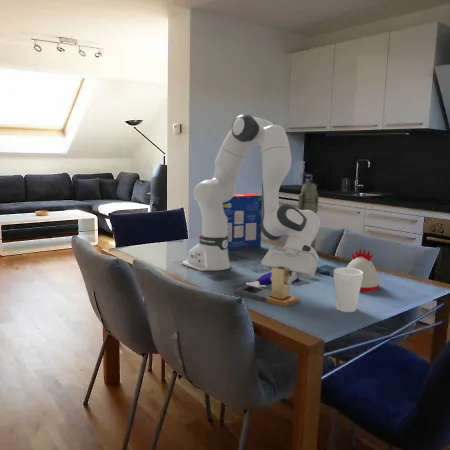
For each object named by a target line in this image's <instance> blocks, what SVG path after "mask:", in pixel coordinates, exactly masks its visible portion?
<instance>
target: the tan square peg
mask: <svg viewBox="0 0 450 450" xmlns="http://www.w3.org/2000/svg"><path fill="white" fill-rule="evenodd" d="M289 269H290V268H288V267H283V266H277V267H274V268H272V271H271V272H272V284H271V291H272V295H271V298H273V299H277V300H281V301H284V300H286V299H288V298H289V295H290V293H291V292H290V290H291V288H290V287H291V285H286V284H285V281H286V279H287V278H288V279H289V278H290V271H289Z"/></svg>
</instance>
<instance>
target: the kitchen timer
mask: <svg viewBox="0 0 450 450" xmlns="http://www.w3.org/2000/svg"><path fill="white" fill-rule="evenodd" d="M354 252H355V255H354V253H353V252H352V253H351V256H352V258H353V259H352V260H351V261H350V262H349V263H348V265H347V266H346V267H345V268H354V269H358V270H361V271H362V272H363V280H362V282H361V287H360V292H369V293H370V292H375V291H377V290H379V287H380V280H379V276H378V273H377V268H376V267H375V265H374V264H373V262H372V261H371V259H372V258H373V257H374V253H372V254H371V249H369V250H367V253H366V249H365V248H364V249H363V252H362V248H360V249H359V251H358V250H355V251H354Z"/></svg>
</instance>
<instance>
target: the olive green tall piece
mask: <svg viewBox="0 0 450 450" xmlns="http://www.w3.org/2000/svg"><path fill="white" fill-rule="evenodd" d="M300 190H301V192H300V194H299V196H298V208H297V209H300V210H311V211H313V212H314V213H316V214H317V215H318V211H319V194H318V190H317V186H316V184H315V183H313V182H312V183H311V182H310V183H309V182H306V183H303V184H302V187H301V189H300ZM316 239H317V238H315V239H314V241H313V242H312V243H311V247H312V248H314V250H315V249H316V242H317V241H316ZM315 251H316V250H315Z"/></svg>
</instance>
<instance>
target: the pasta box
mask: <svg viewBox="0 0 450 450" xmlns="http://www.w3.org/2000/svg"><path fill="white" fill-rule="evenodd" d="M222 205H223V210H224V213H225V215H226V216H227V219H228V224H227V235H228V252H229V251H237V250H239V251H240V250H247V249H248V250H249V249H256V248H257V249H258V248H261V247H262V246H261V244H262V231H261V227H260V223H261V219H262V216H263V199H262V194H257V193H244V194H243V193H242V194H241V193H239V194H235V195H234V197H233V198H232V199H230V200H229V201H227V202H225V203H223V204H222Z"/></svg>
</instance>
